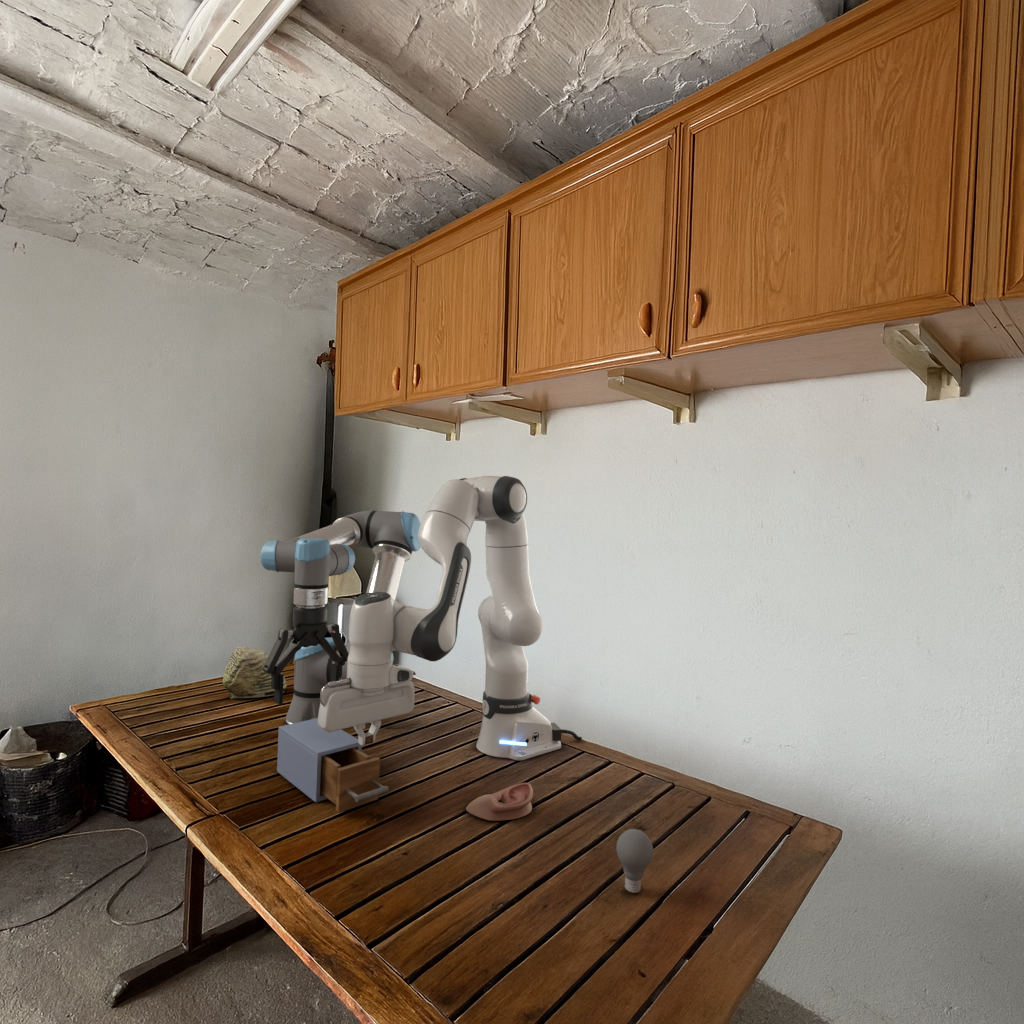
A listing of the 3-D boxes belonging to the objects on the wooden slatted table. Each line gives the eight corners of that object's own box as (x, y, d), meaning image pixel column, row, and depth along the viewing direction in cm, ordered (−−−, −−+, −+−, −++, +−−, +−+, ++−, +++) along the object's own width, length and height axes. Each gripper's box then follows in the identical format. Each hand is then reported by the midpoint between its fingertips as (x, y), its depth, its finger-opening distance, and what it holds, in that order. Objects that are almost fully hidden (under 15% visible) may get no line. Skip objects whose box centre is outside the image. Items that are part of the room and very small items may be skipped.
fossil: (218, 695, 195) (220, 647, 195) (278, 685, 208) (279, 640, 207) (228, 703, 189) (230, 653, 188) (289, 692, 201) (290, 645, 201)
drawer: (392, 808, 128) (394, 767, 128) (352, 823, 122) (353, 779, 122) (336, 770, 145) (337, 733, 145) (298, 781, 138) (299, 742, 138)
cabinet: (360, 788, 138) (361, 741, 138) (315, 802, 131) (317, 753, 131) (318, 760, 152) (320, 717, 152) (276, 771, 145) (278, 726, 145)
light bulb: (610, 879, 108) (613, 822, 108) (644, 879, 109) (647, 822, 109) (619, 902, 102) (622, 840, 102) (655, 901, 103) (658, 840, 103)
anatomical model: (462, 797, 127) (476, 773, 139) (461, 816, 128) (476, 791, 139) (527, 806, 125) (536, 781, 136) (526, 826, 125) (535, 800, 136)
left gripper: (263, 613, 134) (259, 712, 135) (366, 603, 151) (363, 691, 152) (249, 607, 140) (246, 703, 140) (350, 599, 157) (347, 684, 157)
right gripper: (329, 687, 117) (326, 761, 117) (420, 670, 131) (417, 736, 132) (313, 679, 122) (310, 750, 122) (402, 663, 136) (400, 727, 136)
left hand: (307, 697), depth 146 cm, fingers open, 13 cm apart
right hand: (366, 743), depth 127 cm, fingers closed
